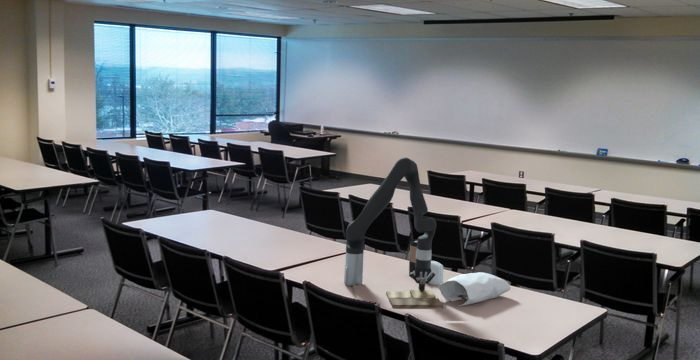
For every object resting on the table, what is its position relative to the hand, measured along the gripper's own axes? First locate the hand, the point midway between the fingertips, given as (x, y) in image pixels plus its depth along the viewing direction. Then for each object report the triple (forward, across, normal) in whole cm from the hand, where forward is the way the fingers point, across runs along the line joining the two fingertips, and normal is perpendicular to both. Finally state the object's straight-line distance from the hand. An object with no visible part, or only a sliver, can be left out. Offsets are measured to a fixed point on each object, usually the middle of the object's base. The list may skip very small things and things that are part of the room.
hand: (421, 290), depth 317 cm
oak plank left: (+2, -12, -4) cm, 13 cm away
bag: (+4, +26, -4) cm, 27 cm away
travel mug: (+4, +4, +35) cm, 35 cm away
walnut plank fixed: (+2, -6, -13) cm, 15 cm away
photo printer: (+4, +12, +21) cm, 24 cm away
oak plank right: (+2, 0, -4) cm, 4 cm away
